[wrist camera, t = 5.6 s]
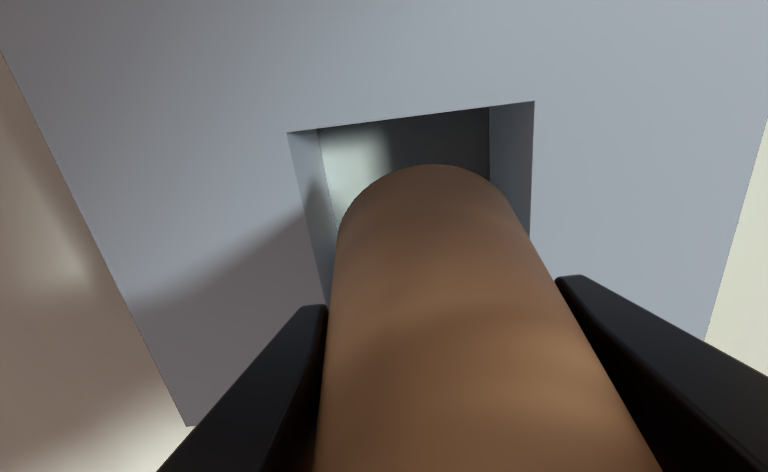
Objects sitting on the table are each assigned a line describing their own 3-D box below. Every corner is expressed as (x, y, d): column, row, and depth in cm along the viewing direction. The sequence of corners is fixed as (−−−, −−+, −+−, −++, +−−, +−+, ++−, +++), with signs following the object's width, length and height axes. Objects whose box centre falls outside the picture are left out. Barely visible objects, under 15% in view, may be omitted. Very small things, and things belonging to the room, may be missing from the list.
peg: (520, 152, 9) (1161, 972, 2) (516, 309, 10) (815, 1018, 3) (320, 177, 9) (138, 1044, 2) (351, 328, 10) (320, 1046, 4)
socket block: (689, -108, 11) (840, -138, 7) (626, 284, 16) (695, 371, 13) (90, -23, 11) (-32, -15, 8) (223, 330, 17) (186, 426, 13)
